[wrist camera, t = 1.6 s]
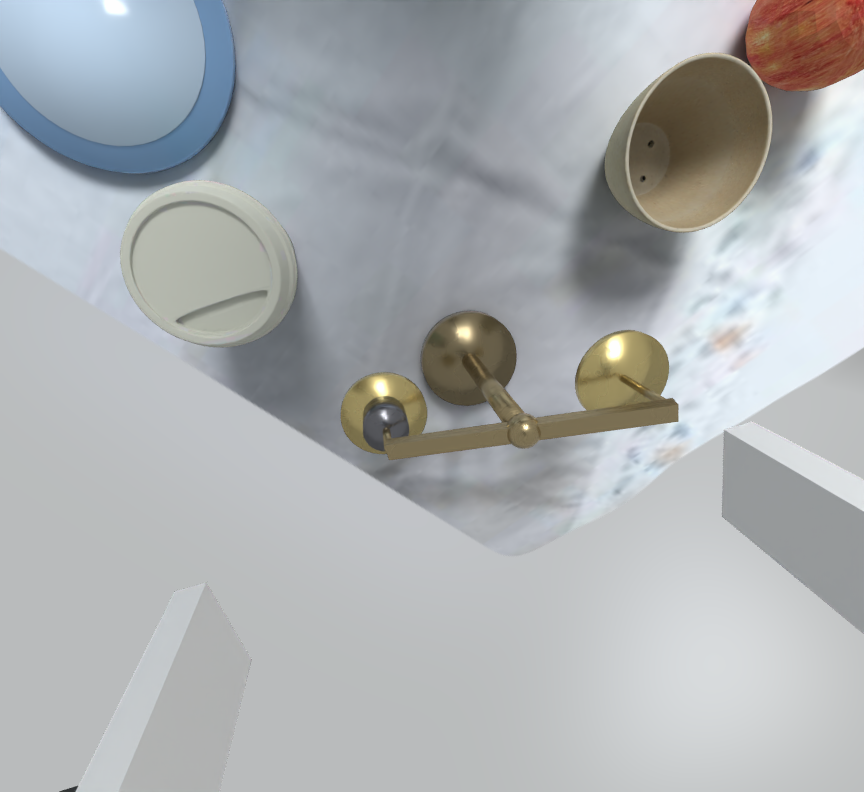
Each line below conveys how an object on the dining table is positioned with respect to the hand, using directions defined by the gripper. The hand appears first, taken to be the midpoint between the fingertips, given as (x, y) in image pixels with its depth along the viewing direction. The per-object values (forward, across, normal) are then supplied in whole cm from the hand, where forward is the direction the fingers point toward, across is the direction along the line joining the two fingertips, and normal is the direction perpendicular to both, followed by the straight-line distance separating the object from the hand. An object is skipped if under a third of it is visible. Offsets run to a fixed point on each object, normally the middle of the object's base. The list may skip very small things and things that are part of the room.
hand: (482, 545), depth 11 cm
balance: (+28, +5, -5) cm, 28 cm away
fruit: (+28, +32, +13) cm, 44 cm away
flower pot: (+28, +21, +7) cm, 36 cm away
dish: (+28, -13, +21) cm, 37 cm away
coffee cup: (+28, -9, +7) cm, 30 cm away
